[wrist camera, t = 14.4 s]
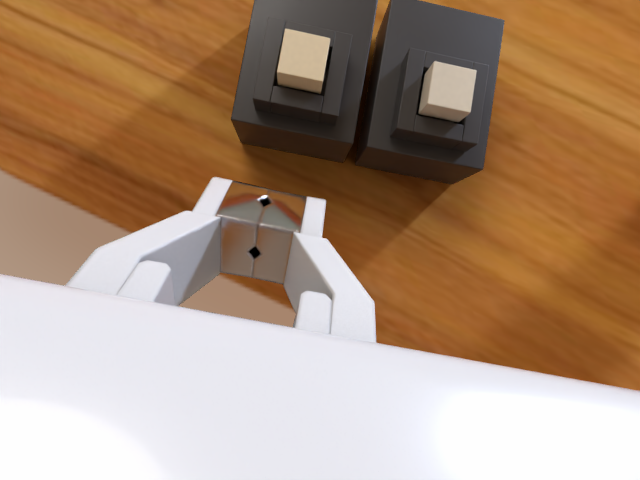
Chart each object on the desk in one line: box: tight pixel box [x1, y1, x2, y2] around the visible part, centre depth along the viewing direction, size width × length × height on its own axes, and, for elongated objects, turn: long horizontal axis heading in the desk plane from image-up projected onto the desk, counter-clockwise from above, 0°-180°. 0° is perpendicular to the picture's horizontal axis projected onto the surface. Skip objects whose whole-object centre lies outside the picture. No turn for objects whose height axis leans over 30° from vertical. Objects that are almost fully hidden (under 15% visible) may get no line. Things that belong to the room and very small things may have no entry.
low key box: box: [355, 0, 504, 184], centre depth 29 cm, size 12×9×7 cm
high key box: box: [231, 0, 378, 163], centre depth 28 cm, size 12×9×7 cm
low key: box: [419, 61, 477, 122], centre depth 25 cm, size 3×3×2 cm
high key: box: [277, 29, 330, 94], centre depth 24 cm, size 3×3×2 cm
